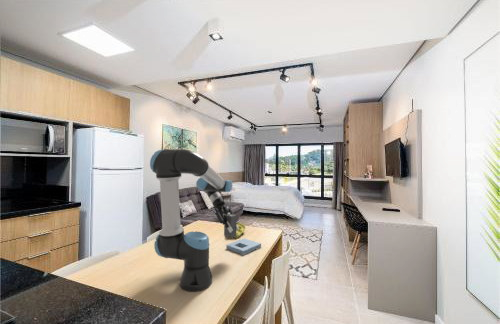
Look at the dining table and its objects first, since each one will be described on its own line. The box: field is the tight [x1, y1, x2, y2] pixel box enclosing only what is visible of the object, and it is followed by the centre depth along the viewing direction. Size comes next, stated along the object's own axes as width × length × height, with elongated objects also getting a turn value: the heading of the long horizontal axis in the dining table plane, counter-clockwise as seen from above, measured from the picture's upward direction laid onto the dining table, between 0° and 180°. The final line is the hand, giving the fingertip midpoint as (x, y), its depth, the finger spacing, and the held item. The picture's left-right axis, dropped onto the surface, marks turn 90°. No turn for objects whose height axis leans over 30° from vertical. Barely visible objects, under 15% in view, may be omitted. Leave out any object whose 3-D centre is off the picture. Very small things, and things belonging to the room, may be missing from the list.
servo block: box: [223, 213, 237, 239], centre depth 136 cm, size 4×6×14 cm
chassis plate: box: [225, 238, 262, 256], centre depth 150 cm, size 18×16×2 cm
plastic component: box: [225, 222, 246, 239], centre depth 180 cm, size 20×7×10 cm
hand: (234, 230), depth 134 cm, fingers closed on servo block, 4 cm apart
